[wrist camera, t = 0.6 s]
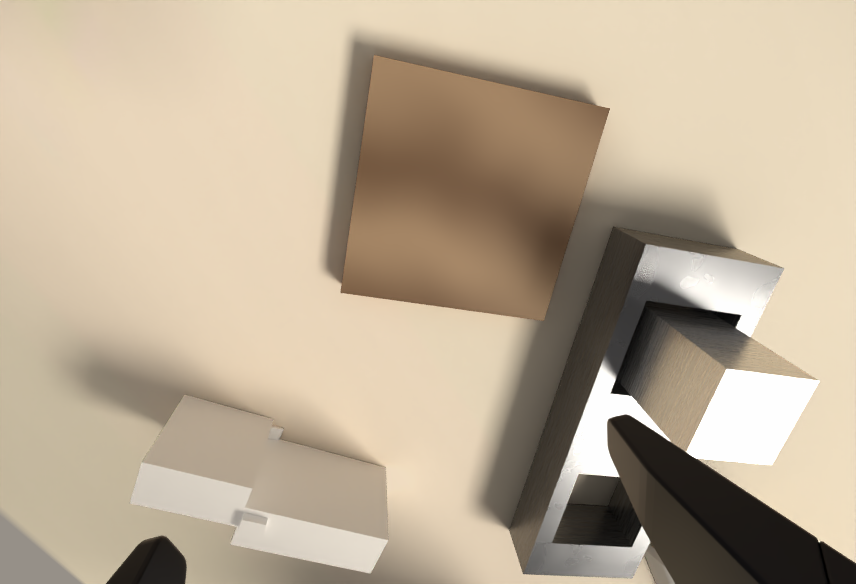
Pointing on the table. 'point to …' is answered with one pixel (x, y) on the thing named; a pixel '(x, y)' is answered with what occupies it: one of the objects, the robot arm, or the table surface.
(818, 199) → the table surface
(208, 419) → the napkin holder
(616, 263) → the grey cinder block
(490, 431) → the table surface
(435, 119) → the walnut pad
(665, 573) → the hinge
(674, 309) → the steel plug
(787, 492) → the table surface
